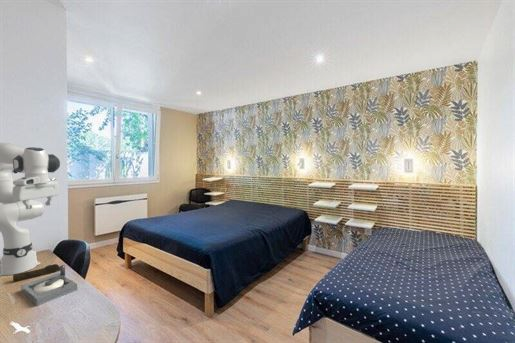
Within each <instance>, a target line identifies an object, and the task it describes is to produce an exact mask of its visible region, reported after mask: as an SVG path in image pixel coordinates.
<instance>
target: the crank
mask: <svg viewBox="0 0 515 343" xmlns="http://www.w3.org/2000/svg"><path fill="white" fill-rule="evenodd" d="M59 267H60V271H59V272H60V275H59V276H57V277H55V278H53V279H52V280H49V281H45V282H43V283H40V284H38V285H37V286H35V287H34V292H35V293H37V294H38V295H39V294H42V293H44V292H47V291H50V290H53V289H55V288H58V287H61V286H64V281H63V280H62V279H61V278H62V277H64V276H65V277H66V265H65V264H62V265H59Z"/></svg>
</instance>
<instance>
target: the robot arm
mask: <svg viewBox="0 0 515 343" xmlns="http://www.w3.org/2000/svg"><path fill="white" fill-rule="evenodd" d="M60 167H61V161H60V158H58V156H56V155H55V154H53V153H51V154H47V152H46V149H44V148H42V147H33V146H32V147H31V146H30V147H25V148H23V147H20V146H19V145H15V144H12V143H9V142H0V234H1V236H2V240H3V249H2V257H1V259H0V276H10V275H11V276H13V275H14V274H20V273H24V272H29V271H31V270H32V269H34V268H36V266H39V265H41V263H42V262H41V261H39V260H37V251H35V250H33V243H32V242H31V231H30V229H28V228H27V227H23V226H18V225H17V223H19V222H23V221H28V220H33V219H36V218H39V217H42V216H43V214H44V213H45V206H51V205H52V201H53V199H54V197H56V196H59V195H60V194H61V193H60V192H61V191H60V186H59V182H58V179H56V178H49V173H55V172H56V171H57V170H59V169H60ZM18 173H19V174H24V176H23V177H20V178H17V179H14V177H13V174H18ZM42 198H43V199H44V198H46V199H47V201H45V202H44V203H45V206H44V204H43V203H42V202H41V201H39V200H37V199H42Z"/></svg>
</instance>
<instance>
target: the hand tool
mask: <svg viewBox="0 0 515 343" xmlns="http://www.w3.org/2000/svg"><path fill="white" fill-rule="evenodd" d="M58 272H60V265H59V264H58V263H57V264H56V263H53V264H50V265H49V264H48V265H46V266H45V267H43V268H38V269H34V270H28V271H25V272H22V273H18V274H12V276H13V277H12V281H13V283H15V282H20V281H22V280H26V279H30V278H33V277H38V276H43V275H51V274H54V273H55V274H56V273H58Z"/></svg>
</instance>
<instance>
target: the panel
mask: <svg viewBox="0 0 515 343" xmlns="http://www.w3.org/2000/svg"><path fill="white" fill-rule="evenodd" d="M59 275H60V273H59V272H56V273H55V274H54V273H53V274H52V275H51V274H50V275H48V276H46V277H43V278H39V279H36V280H33V281H30V282H26V283H24V284H20V292H22V294H23V295H25V296H26V297H27V299H29V300H31V302H33V304H35V305H36V306H37V307H38V306H40V305H41V306H42V305H43V304H46V303H48V302H50V301H53V300H55V299H58V298H61V297H63V296H66V295H68V294H71V293H73V292H76V291H78V283H76V282H74V280H73V279H70V278H68V277H66V275H65V276H64V277H62V278H61V279H62V280H63V281H64V286H61V287H58V288H55V289H53V290H50V291H47V292H44V293H42V294H39V295H38V294H37V293H35V292H34V287H35V286H37V285H38V284H40V283H43V282H45V281H49V280H52V279H53V278H55V277H57V276H59Z"/></svg>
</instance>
